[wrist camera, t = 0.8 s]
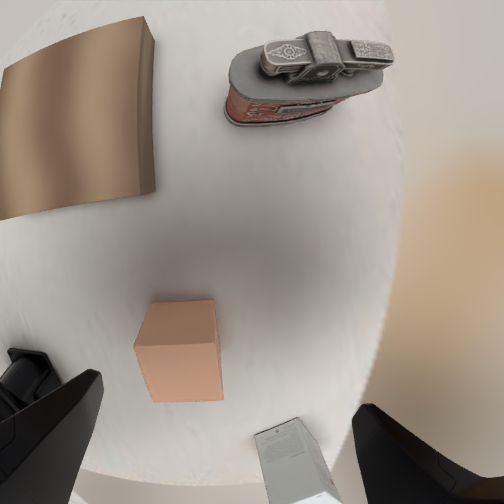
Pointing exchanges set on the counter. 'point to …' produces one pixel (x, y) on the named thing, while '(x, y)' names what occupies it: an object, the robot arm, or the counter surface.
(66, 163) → the plate
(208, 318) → the terracotta block
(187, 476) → the counter surface
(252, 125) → the lighter
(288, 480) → the small box
